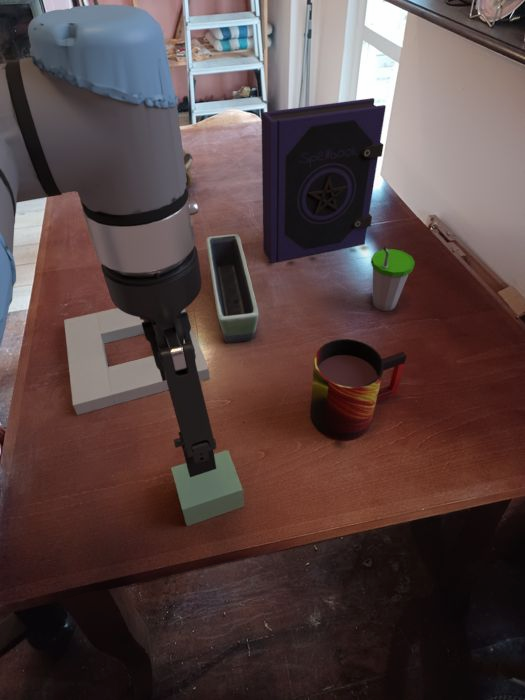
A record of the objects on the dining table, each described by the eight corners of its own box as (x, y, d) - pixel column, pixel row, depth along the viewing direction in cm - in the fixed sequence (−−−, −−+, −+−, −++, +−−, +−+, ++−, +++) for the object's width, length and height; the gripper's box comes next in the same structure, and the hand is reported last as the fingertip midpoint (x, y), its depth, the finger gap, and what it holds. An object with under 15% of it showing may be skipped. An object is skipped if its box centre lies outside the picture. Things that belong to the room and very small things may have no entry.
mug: (396, 397, 78) (411, 343, 69) (349, 452, 70) (359, 399, 62) (346, 369, 82) (355, 316, 74) (297, 418, 75) (300, 365, 67)
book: (271, 264, 106) (271, 122, 85) (262, 249, 110) (260, 111, 89) (367, 245, 111) (389, 106, 90) (355, 231, 115) (373, 96, 94)
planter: (260, 344, 87) (259, 314, 82) (221, 349, 86) (218, 319, 81) (240, 261, 107) (239, 232, 102) (208, 265, 106) (205, 236, 101)
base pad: (77, 415, 76) (72, 405, 74) (67, 329, 91) (63, 319, 89) (210, 378, 81) (208, 368, 80) (180, 303, 96) (178, 293, 94)
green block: (186, 526, 63) (182, 510, 59) (175, 484, 67) (170, 467, 64) (244, 506, 64) (242, 489, 61) (229, 467, 69) (227, 449, 66)
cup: (392, 289, 99) (407, 223, 88) (411, 312, 93) (428, 245, 83) (358, 296, 97) (368, 230, 87) (374, 320, 92) (387, 253, 81)
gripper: (244, 341, 29) (257, 507, 44) (164, 177, 46) (192, 337, 61) (122, 374, 28) (177, 535, 43) (85, 191, 45) (133, 352, 60)
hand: (186, 419), depth 52 cm, fingers open, 13 cm apart
